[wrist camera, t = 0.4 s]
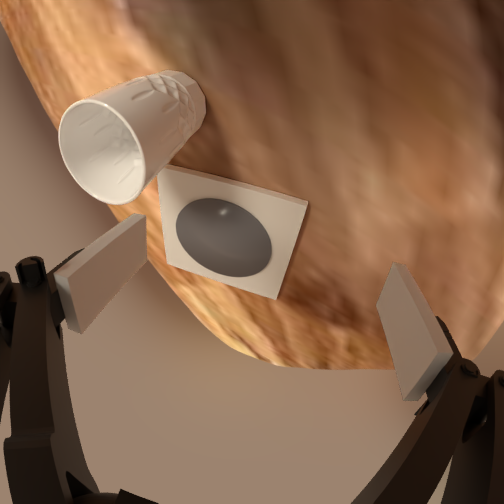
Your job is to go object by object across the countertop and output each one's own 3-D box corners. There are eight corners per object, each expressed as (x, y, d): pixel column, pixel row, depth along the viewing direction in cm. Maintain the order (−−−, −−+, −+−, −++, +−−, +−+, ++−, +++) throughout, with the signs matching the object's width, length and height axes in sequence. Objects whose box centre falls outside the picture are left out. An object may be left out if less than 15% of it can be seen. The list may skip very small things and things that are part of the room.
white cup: (124, 90, 22) (44, 135, 16) (185, 47, 18) (98, 75, 12) (164, 154, 27) (100, 216, 20) (229, 124, 23) (168, 186, 16)
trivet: (160, 162, 27) (154, 167, 27) (308, 201, 26) (306, 208, 25) (170, 259, 38) (166, 265, 38) (277, 295, 37) (275, 301, 36)
